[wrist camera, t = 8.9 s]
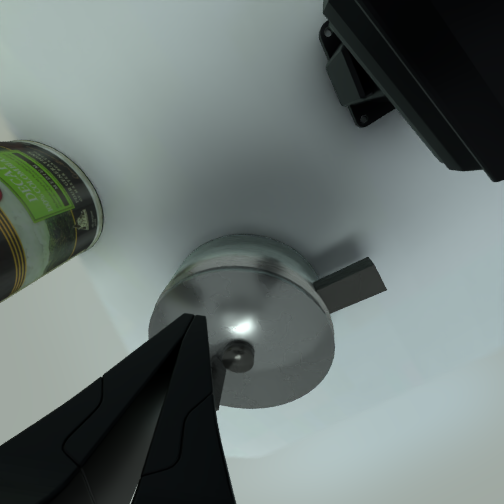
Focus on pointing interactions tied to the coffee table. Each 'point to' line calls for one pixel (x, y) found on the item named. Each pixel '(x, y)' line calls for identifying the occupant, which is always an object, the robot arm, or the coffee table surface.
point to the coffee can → (42, 213)
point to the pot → (285, 269)
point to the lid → (254, 333)
